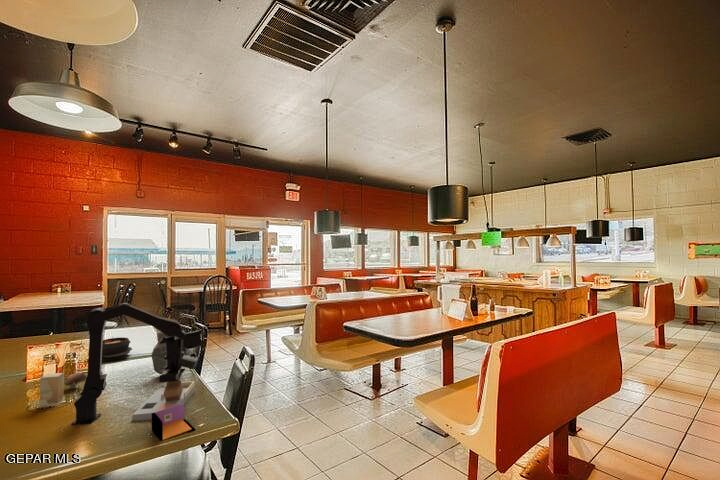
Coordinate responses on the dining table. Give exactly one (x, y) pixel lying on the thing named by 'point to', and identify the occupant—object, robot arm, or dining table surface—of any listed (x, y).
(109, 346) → the casserole
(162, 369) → the detergent
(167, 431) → the toy room diorama
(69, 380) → the mushroom
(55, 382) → the skincare box
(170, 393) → the block
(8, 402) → the dining table surface
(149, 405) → the deck
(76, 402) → the robot arm
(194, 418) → the dining table surface
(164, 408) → the tile
